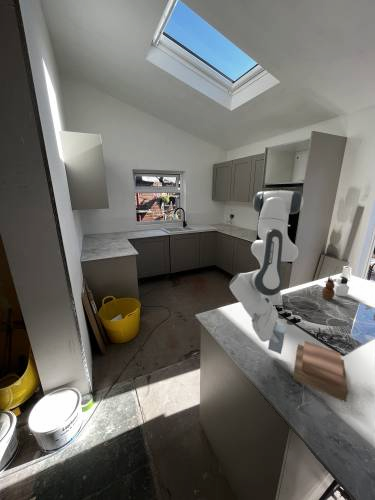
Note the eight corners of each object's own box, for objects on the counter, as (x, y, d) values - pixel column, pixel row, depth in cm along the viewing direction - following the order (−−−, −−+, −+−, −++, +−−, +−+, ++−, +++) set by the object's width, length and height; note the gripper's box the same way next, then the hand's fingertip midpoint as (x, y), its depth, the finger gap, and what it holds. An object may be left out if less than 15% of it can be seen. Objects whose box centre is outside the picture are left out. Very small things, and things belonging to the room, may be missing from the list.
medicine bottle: (341, 291, 143) (345, 276, 139) (346, 296, 136) (351, 280, 132) (330, 290, 144) (334, 274, 141) (334, 295, 138) (338, 279, 134)
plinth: (296, 351, 90) (299, 336, 87) (341, 367, 82) (346, 351, 79) (292, 379, 77) (296, 362, 74) (345, 401, 69) (351, 383, 66)
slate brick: (270, 341, 89) (273, 322, 86) (282, 346, 87) (286, 326, 84) (267, 349, 85) (271, 329, 82) (280, 354, 83) (284, 333, 80)
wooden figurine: (319, 295, 137) (324, 274, 133) (328, 295, 137) (333, 275, 132) (325, 300, 131) (330, 279, 126) (334, 301, 130) (340, 279, 126)
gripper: (257, 318, 76) (281, 350, 74) (268, 295, 92) (288, 320, 90) (244, 324, 79) (267, 355, 77) (257, 300, 96) (276, 325, 94)
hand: (279, 336), depth 84 cm, fingers closed on slate brick, 5 cm apart
